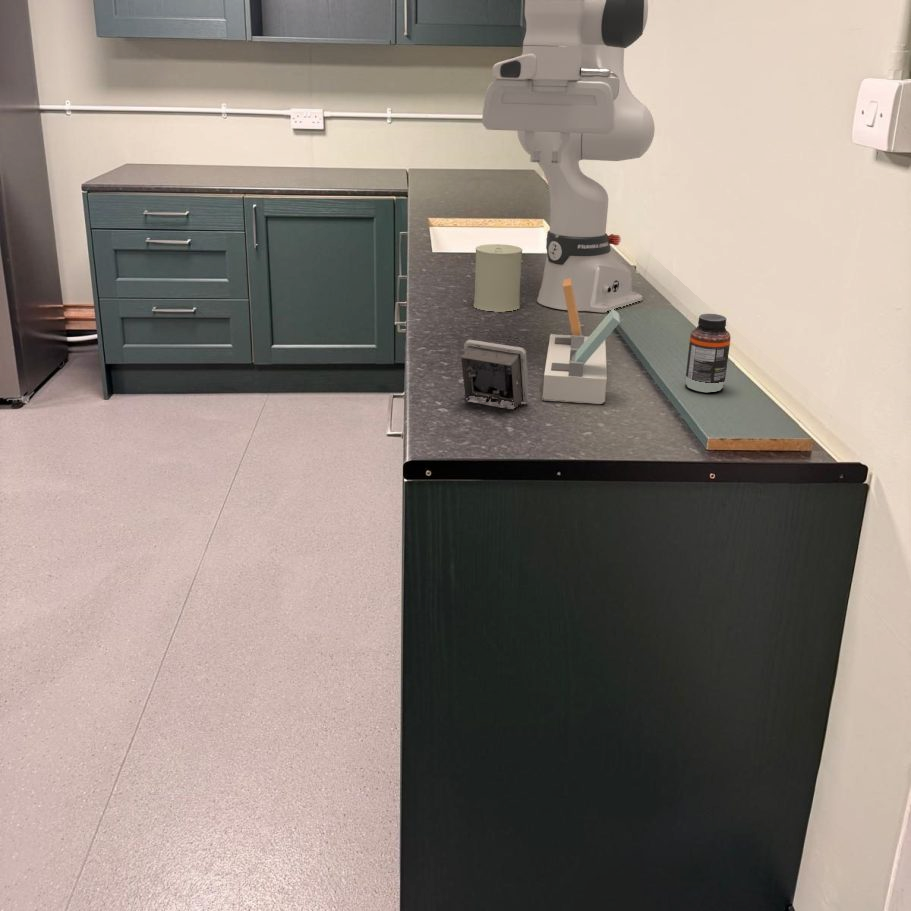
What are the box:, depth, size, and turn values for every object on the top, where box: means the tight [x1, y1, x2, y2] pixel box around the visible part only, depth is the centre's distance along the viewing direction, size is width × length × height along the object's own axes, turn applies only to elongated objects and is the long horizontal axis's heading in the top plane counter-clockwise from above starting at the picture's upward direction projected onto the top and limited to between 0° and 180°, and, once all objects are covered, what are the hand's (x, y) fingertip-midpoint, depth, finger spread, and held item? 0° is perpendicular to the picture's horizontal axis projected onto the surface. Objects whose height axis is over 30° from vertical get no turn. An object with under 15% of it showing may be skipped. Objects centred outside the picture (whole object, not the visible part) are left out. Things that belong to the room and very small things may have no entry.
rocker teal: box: [572, 309, 621, 365], centre depth 141 cm, size 1×5×10 cm
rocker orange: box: [563, 278, 582, 336], centre depth 154 cm, size 1×5×10 cm, turn 172°
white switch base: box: [542, 324, 608, 402], centre depth 153 cm, size 9×28×6 cm, turn 172°
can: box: [473, 243, 523, 313], centre depth 190 cm, size 9×9×12 cm
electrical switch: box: [460, 339, 530, 407], centre depth 138 cm, size 9×5×9 cm, turn 65°
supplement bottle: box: [685, 313, 731, 383], centre depth 147 cm, size 6×6×11 cm
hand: (545, 162), depth 152 cm, fingers closed
